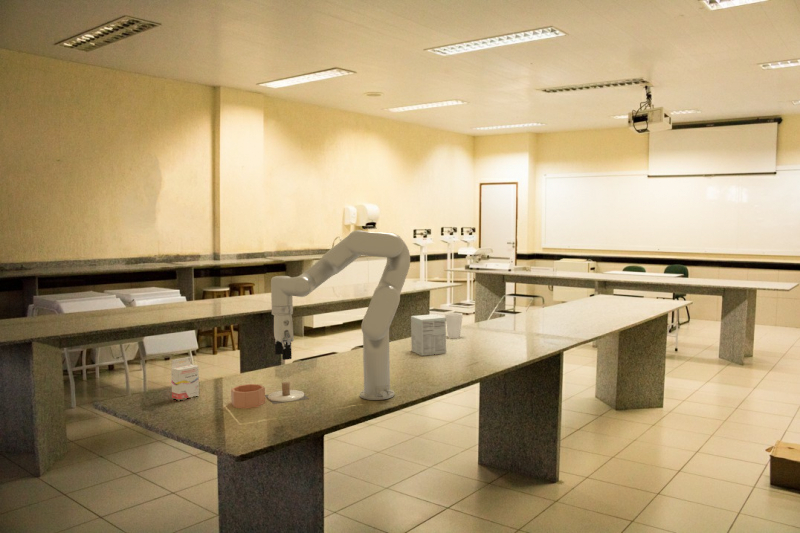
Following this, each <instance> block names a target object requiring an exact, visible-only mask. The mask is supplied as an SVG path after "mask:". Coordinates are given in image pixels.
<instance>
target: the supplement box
mask: <svg viewBox="0 0 800 533" xmlns="http://www.w3.org/2000/svg"><path fill="white" fill-rule="evenodd" d="M410 333H411V342H410V344H411V352H413V353H414V354H417V355H419V356H434V354H435V355H443V354H447V324H446V318H445V316H441V315H438V314H434V313H433V314H432V313H431V314H422V315H421V314H420V315H411V316H410Z"/></svg>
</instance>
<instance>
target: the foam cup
mask: <svg viewBox="0 0 800 533" xmlns="http://www.w3.org/2000/svg"><path fill="white" fill-rule="evenodd" d="M444 317H445V318H446V332H447V337H448V338H449V339H453V340H454V339H460V338H461V332H462V322H463V313H461V312H446V313H445V315H444Z"/></svg>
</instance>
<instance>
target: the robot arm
mask: <svg viewBox="0 0 800 533" xmlns="http://www.w3.org/2000/svg"><path fill="white" fill-rule="evenodd" d="M410 253H411V252H410V249H409V248H408V246H407V244H406V243H405V241H404V240H403V238H401V236H400V235H399V234H397V233H394V232H388V233H387V232H376V231H375V232H374V231H365V230H361V229H356V230H353V231H352V232H350V233H349V234H348V235H347V236H346V237H344V238H343V239H342V240H341V241H339V242H338V243H337V244H336V245H334V246H333V247H332V248H330V249H329V250H328V251H326V252H325V253H323V255H322V257H320V259H319V260H318V261H316V262H315V263H314V264H313V265H312V266H310V267H309V268H308V269H307V270H305V271H304V272H303V273H301V274H300V275H298V276H293V277H291V276H290V275H289V276H288V275H276V276H273V277H272V278H271V280H270V291H271V293H270V296H271V315H273V336H274V339H275V341H274V348H275V349H274V350H275V351H274V353H275V355H276V356H277V355H282V358H281V359H282V360H284V361H286V360H287V361H288V360H292V354H293V353H292V342H293V341H294V339H295V337H294V325H293V324H294V323H293V317H292V315H293V314H294V309H293V307H294V303H293V297H297V298H305V297H307V296H309V295H310V294H312V292H313V291H315V290H316V289H317V288H318V287H320V286H321V285H322V284H324V283H325V282H326V281H328V280H329V279H330V278H332V277H333V276H336V275H337V274H339V273H340V272H342V271H343V270H344V269H345V268H347V267H348V266H350V265H351V264H352V263H353V262H355V261H356V260H357V259H358V258H360V257H361V256H367V257H378V258H386V263H385V266H384V269H383V271H382V274H381V278H380V279H379V282H378V284H377V286H376V288H375V289H374V291H373V294H372V297H371V299H370V302H369V304H368V307H367V309H366V312H365V315H364V316H363V319H362V322H361V333H362V349H363V350H362V351H363V352H362V354H363V356H362V358H363V361H362V362H363V390H361V391H360V392H359V397H360V398H362V399H364V400H369V401H381V400H383V401H385V400H388V399H392V398H393V397H395V391H394V390H392V389H391V381H390V380H391V370H390V366H391V365H390V361H391V360H390V327H391V324H392V322H393V320H394V318H395V315H396V312H397V310H398V307H399V304H400V300H401V292H402V290H403V288H404V287H403V286H404V284H405V282H406V278H407V276H408V273H409V270H410V265H411V254H410Z"/></svg>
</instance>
